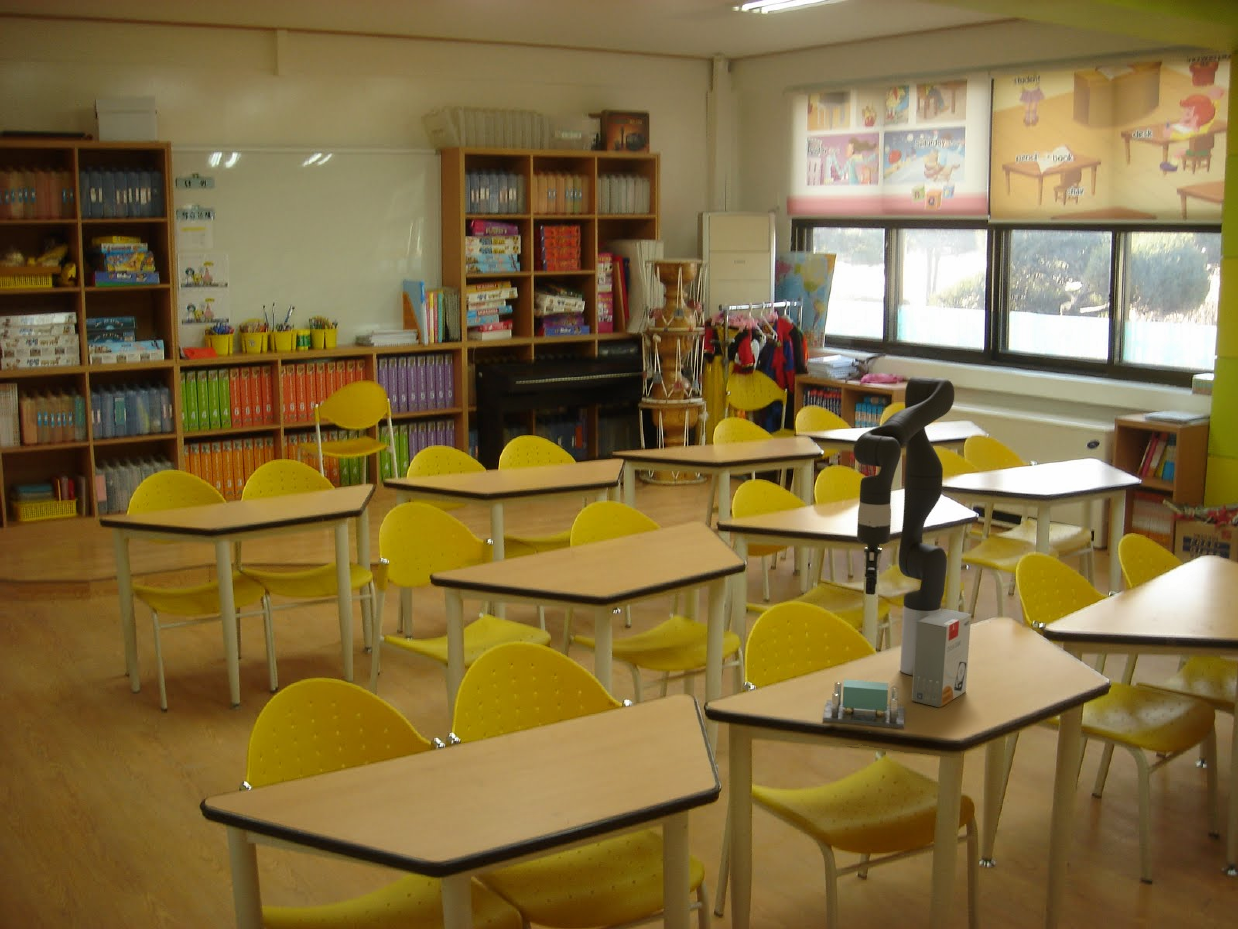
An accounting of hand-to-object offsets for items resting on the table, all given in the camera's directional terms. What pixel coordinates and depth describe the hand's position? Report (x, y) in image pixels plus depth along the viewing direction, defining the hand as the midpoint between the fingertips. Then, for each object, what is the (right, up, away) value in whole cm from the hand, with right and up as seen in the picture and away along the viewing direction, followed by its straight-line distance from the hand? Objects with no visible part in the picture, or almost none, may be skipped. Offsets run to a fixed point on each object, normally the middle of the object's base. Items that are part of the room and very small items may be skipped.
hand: (871, 589), depth 304 cm
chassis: (-2, -29, -3) cm, 29 cm away
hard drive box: (+19, -27, +11) cm, 35 cm away
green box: (-2, -27, -3) cm, 27 cm away
